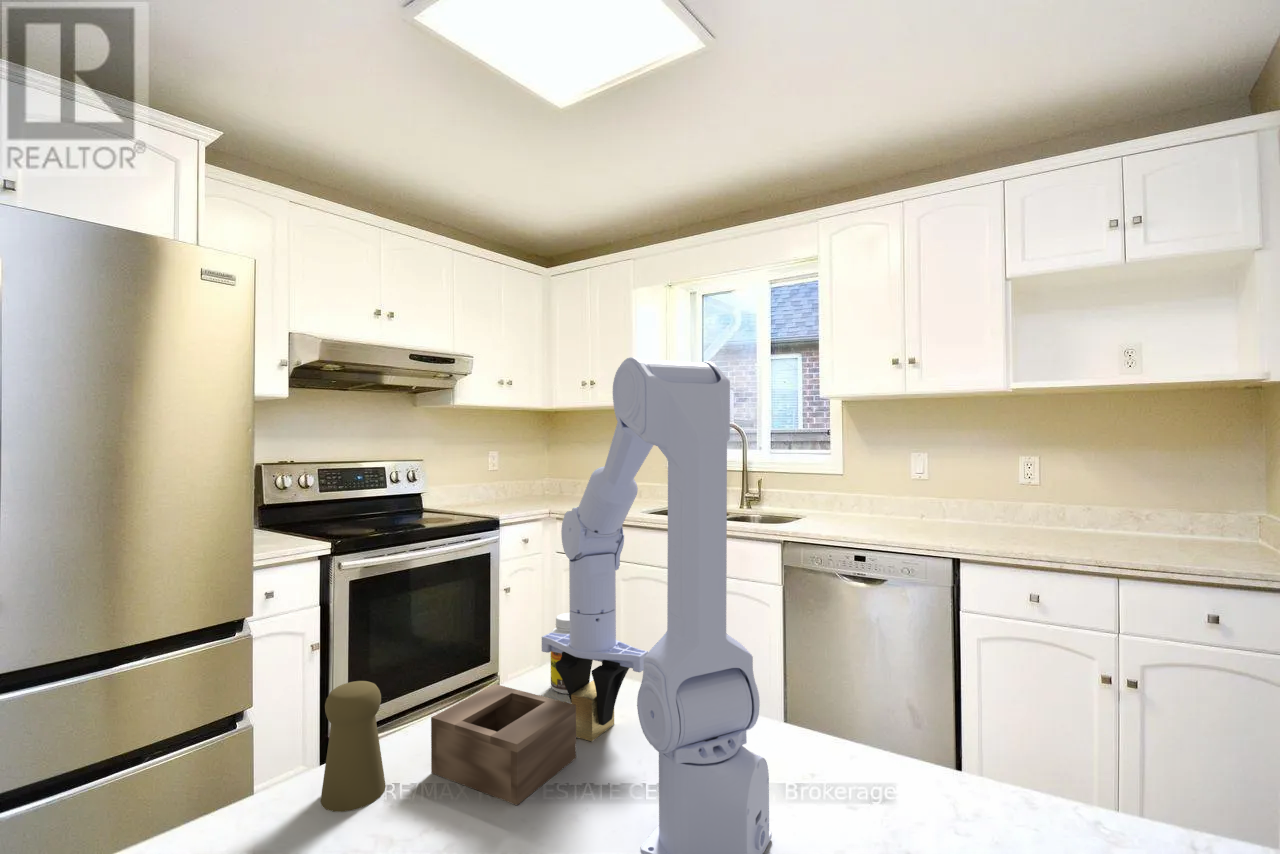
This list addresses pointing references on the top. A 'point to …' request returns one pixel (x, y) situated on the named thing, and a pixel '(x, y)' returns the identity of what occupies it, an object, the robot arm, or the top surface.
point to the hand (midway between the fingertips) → (593, 718)
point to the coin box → (503, 742)
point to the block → (588, 713)
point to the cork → (353, 748)
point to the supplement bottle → (561, 628)
